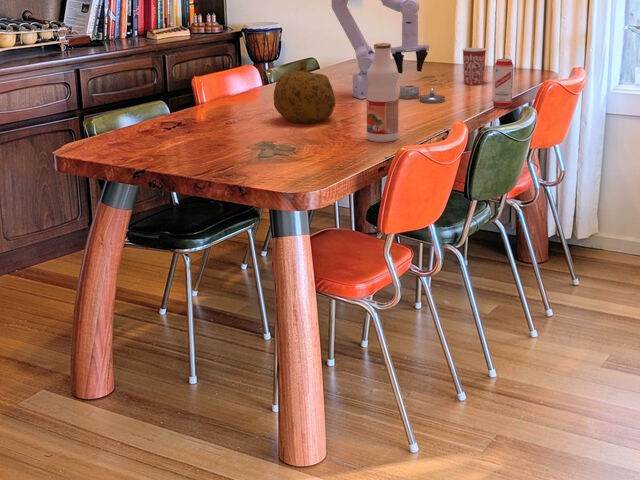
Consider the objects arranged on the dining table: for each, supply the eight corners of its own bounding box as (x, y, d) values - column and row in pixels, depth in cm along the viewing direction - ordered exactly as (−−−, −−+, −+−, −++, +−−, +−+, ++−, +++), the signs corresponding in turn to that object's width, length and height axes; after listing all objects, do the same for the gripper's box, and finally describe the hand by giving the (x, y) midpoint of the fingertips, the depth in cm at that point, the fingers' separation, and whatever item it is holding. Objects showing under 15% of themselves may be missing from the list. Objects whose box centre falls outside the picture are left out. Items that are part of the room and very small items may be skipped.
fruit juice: (401, 141, 270) (401, 45, 261) (369, 143, 269) (368, 46, 260) (395, 134, 279) (395, 41, 270) (364, 136, 278) (363, 42, 269)
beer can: (511, 108, 312) (513, 61, 306) (492, 108, 313) (494, 61, 308) (511, 105, 317) (513, 58, 312) (493, 104, 319) (495, 58, 313)
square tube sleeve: (406, 97, 332) (406, 88, 331) (399, 95, 337) (400, 86, 336) (419, 96, 334) (419, 87, 333) (412, 94, 339) (412, 84, 338)
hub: (426, 104, 323) (426, 91, 321) (415, 100, 331) (415, 87, 329) (449, 101, 326) (449, 89, 324) (437, 97, 334) (437, 85, 332)
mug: (482, 86, 354) (483, 51, 349) (459, 85, 357) (460, 50, 353) (489, 81, 365) (490, 46, 360) (467, 80, 368) (468, 46, 364)
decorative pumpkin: (282, 127, 289) (281, 62, 284) (268, 120, 309) (267, 59, 304) (344, 124, 294) (344, 61, 289) (326, 117, 314) (326, 58, 309)
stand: (405, 100, 331) (405, 91, 330) (396, 96, 338) (396, 88, 337) (422, 98, 334) (422, 89, 333) (413, 95, 340) (413, 86, 339)
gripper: (396, 36, 322) (396, 75, 327) (433, 33, 327) (432, 72, 332) (387, 34, 328) (388, 72, 333) (424, 31, 333) (423, 69, 338)
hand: (409, 72), depth 333 cm, fingers open, 7 cm apart
